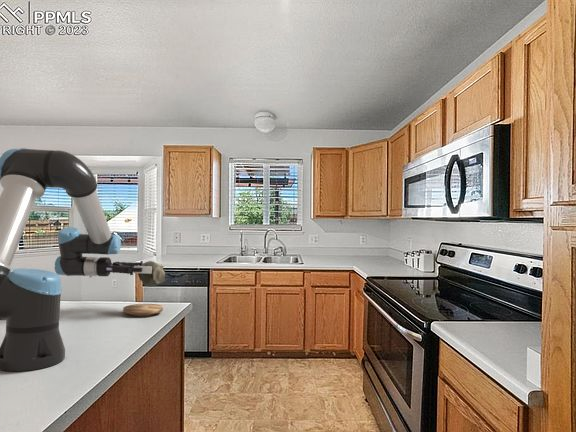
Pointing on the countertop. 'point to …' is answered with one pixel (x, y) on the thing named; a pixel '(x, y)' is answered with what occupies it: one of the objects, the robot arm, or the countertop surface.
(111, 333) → the countertop surface
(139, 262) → the robot arm
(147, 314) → the susan base
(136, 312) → the lazy susan
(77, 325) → the countertop surface
